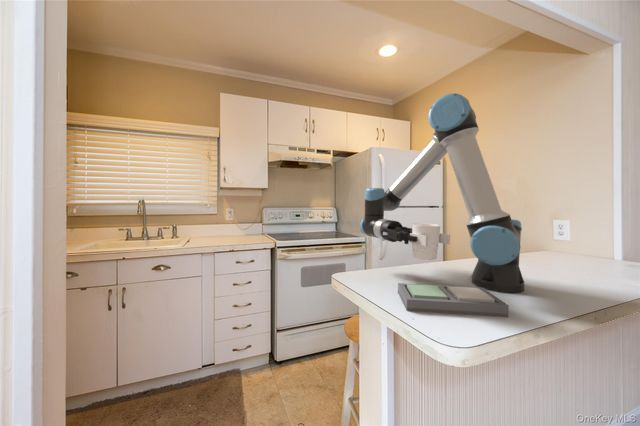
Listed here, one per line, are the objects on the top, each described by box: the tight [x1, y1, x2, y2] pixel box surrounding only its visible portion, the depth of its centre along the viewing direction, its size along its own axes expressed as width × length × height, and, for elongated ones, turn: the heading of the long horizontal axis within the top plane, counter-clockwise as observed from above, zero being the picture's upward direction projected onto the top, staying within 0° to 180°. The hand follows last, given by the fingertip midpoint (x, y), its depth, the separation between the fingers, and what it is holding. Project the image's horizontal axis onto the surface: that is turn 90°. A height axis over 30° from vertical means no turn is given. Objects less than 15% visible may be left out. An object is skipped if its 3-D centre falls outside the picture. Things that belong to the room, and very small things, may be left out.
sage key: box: [406, 283, 448, 300], centre depth 74 cm, size 9×9×1 cm
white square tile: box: [446, 285, 495, 302], centre depth 73 cm, size 9×9×1 cm
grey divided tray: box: [397, 282, 509, 318], centre depth 73 cm, size 25×13×3 cm, turn 83°
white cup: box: [411, 222, 441, 261], centre depth 78 cm, size 8×8×10 cm
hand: (438, 240), depth 73 cm, fingers closed on white cup, 7 cm apart
